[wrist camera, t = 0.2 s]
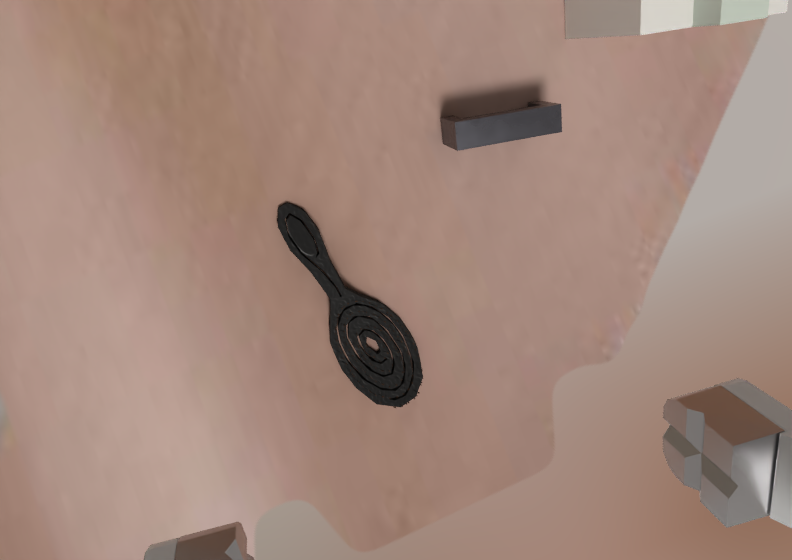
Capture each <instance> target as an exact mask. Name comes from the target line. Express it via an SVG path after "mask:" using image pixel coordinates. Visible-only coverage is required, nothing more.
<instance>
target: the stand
mask: <svg viewBox="0 0 792 560" xmlns="http://www.w3.org/2000/svg"><path fill="white" fill-rule="evenodd" d="M787 5H788V0H565V39H580V38H598V37H616V36H634V35H644V34H651V33H657V32H664V31H670V30H676V29H683V28H689V27H699V26H714V25H724V24H730V23H737V22H743V21H749V20H755V19H762V18H768V15H772V14H778V13H784V12H787Z"/></svg>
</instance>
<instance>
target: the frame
mask: <svg viewBox="0 0 792 560" xmlns="http://www.w3.org/2000/svg"><path fill="white" fill-rule="evenodd" d="M440 119H441V129H442V139H443V144H444V145H447V146H449V147H451V148H453V149H455V150H457V151H458V150H464V149H469V148H475V147H480V146H486V145H491V144H497V143H503V142H508V141H514V140H519V139H525V138H530V137H536V136H541V135H547V134H552V133H558V132H562V122H561V104H557V103H551V102H544V101H535V102H529V103H528V107H527V108H521V109H515V110H510V111H504V112H498V113H492V114H486V115H481V116H475V117H469V118H463V119H462V118H458V117H455V116H447V117H441V118H440Z"/></svg>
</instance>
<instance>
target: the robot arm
mask: <svg viewBox="0 0 792 560" xmlns="http://www.w3.org/2000/svg"><path fill="white" fill-rule="evenodd" d="M663 418H664V419H665V420H666V421H667V422H668V423H669V424H670V426H669V428H668V429H667V431H666V433H665V434H664V436H663V452H664V455H665V458H666V461H667V463H668V466H669V467H670V469H671V470H672V472H673V473H674V475H675V476H676V477H677V478H678V479H679V480H680V481H681V482H682V483H683V484H684V485H686V486H688V487H691V488H693V489H696V490H699V491H700V501H701V503H702V504H703V505H704V506H705V507H706V508H707V509H709V511H710V512H711V513H712V514H714V516H715V517H717V518H718V519H719V520H720V521H721V522H722V523H723V524H724V525H725V526H726V527H731V526H734V525H738V524H741V523H744V522H748V521H751V520H755V519H758V518H762V517H765V516H768V515H770V518H771V519H774V520H776V521H778V522H780V523H782V524H784V525H786V526H788V527H790V528H792V410H791V409H789V408H788V407H786V406H785V405H783V404H782V403H780V402H779V401H777V400H776V399H774V398H773V397H771V396H769V395H768V394H767V393H765V392H763V391H762V390H760V389H759V388H757V387H756V386H754V385H753V384H751V383H750V382H748V381H747V380H743V379H739V378H737V379H734V380H731V381H727V382H724V383H720V384H717V385H714V386H713V387H709V388H705V389H702V390H699V391H695V392H692V393H688V394H685V395H681V396H678V397H675V398H671V399H668V400H667V401H666V403H665V405H664V412H663ZM144 560H254V558H253V557H252V556H250V555H249V554H247V537H246V535H245V532H244V530H243V527H242V524H241V523H239V522H235V523H231V524H227V525H223V526H220V527H216V528H212V529H208V530H204V531H200V532H196V533H193V534H189V535H185V536H181V537H180V538H176V539H172V540H168V541H164V542H160V543H156V544H153V545H150V546H149V548H148V549H147V551H146V552H145V556H144Z"/></svg>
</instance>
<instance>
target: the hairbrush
mask: <svg viewBox="0 0 792 560" xmlns="http://www.w3.org/2000/svg"><path fill="white" fill-rule="evenodd" d="M289 213H291V214H293V215H292V216H291V214H290V215H289V217H288V219H287V220H286V222H287V227H288V231H289V234H290V236H291V237H290V236H289V234H288V233H287V228H286V223H285V218H286V217H287V215H288V214H289ZM299 218H300V219H302V221H303V222H304V223H305V225H306V226H307V228H308V229H309V230H310V232H311V233H312V235H313V236H314V238H315V240H316V243H317V247H318V250H319V251H318V253H317V249H316V244H315V241H314V238H313V236H312V235H311V234H310V232H309V231H308V229H307V228H306V227H305V225H304V224H303V222H302V221H301V220H300V219H299ZM277 221H278V228H279V230H280V232H281V234H282V236H283V238H284V240H285V241H286V243H287V245H288V247H289V249H290V251H291V252H292V253H293V254H294V255H295V256H296V257H297V258H298V259H299V260H300V261H301V262H302V263H303V264H304V265H305V266H306V268H307V269H308V270H309V271H310V272H311V273H312V274H313V276H314V277H315V279H316V280H317V281H318V283H319V284H320V285H321V287H322V288H323V290H324V291H325V292H326V294H327V295H328V296H329V298H330V306H331V312H330V320H329V323H330V330H329V331H330V342H331V346H332V348H333V351H334V353H335V355H336V358H337V360H338V362H339V364H340V366H341V369H342V370H343V372H344V373H345V374H346V375H347V377H348V378H349V379H350V380H351V382H352V383H353V384H354V386H355V387H356V388H357V389H358V390H360V391H361V392H362V393H363V394H365V395H366V396H367V397H368V398H370V399H371V400H372V401H373V402H375V403H376V404H380V405H387V406H396V407H403V405H404V404H406V405H407V402H408V403H409V401H410V400H412V399H413V398H414V397H416V396H417V392H418V389H419V386H420V385H421V383H422V382H421V381H422V379H423V375H422V369H421V362H420V357H419V353H418V348H417V346H416V343H415V341H414V339H413V337H412V336H411V333H410V332H409V330H408V329H407V328H406V326H405V325H404V323H403V322H402V321H401V319H400V318H399V317H398V316H397V315H396V314H395V313H394V312H392V311H391V310H390V309H389V308H388V307H387V306H386V305H384V304H382V303H381V302H378V300H377V301H375V300H376V299H375V300H373V299H371V297H368V296H365V295H363V294H360V293H358V292H356V291H354V290H352V289H349V288H347V287H345V286H344V284H343V282H342V281H341V279H340V277H339V275H338V273H337V272H336V270H335V268H334V266H333V264H332V262H331V261H330V259H329V256H328V253H327V251H326V248H325V245H324V243H323V240H322V237H321V235H320V232H319V230H318V228H317V226H316V225H315V224H314V223H313V221H312V220H311V219H310V217H309V216H308V215H307V213H306V212H305V211H303V210H302V208H301V209H300V207H298V206H296V205H293V204H290V203H285V204H283V205H282V206H280V207H279V208H278V220H277ZM292 239H293V240H292ZM304 254H305V255H306V256H307V257H308V258H309V259H310V260H312V261H313V262H314V263H315V264H316V265H317V266H318V267H320V268H321V269H322V270H323V271H324V272H325V273H326V274H327V275H328V276H329V278H330V279H331V280H332V281H333V282H332V281H331V280H330V279H329V278H328V277H327V276H326V275H325V274H324V273H323V272H322V271H321V270H320V269H319V268H318V267H317V266H316V265H315V264H314V263H313V262H311V261H310V260H309V259H308V258H307V257H306V256H305V255H304ZM335 285H336V286H337V288H338V290H339V292H340V293H341V294H339V292H338V290H337V288H336V286H335ZM366 305H367V306H366ZM369 306H373V307H374V308H376V309H377V310H379V311H380V312H382V313H383V314H385V315H386V316H388V317H389V318H390V319H391V320H392V322H393V323H394V324H395V326H396V327H397V328H398V329H399V331H400V332H401V333H402V334H403V336H404V338H405V340H406V343H407V345H408V348H409V351H410V353H411V356H412V364H413V372H412V364H411V357H410V355H409V352H408V350H407V348H406V345H405V343H404V340H403V338H402V337H401V335H400V333H399V332H398V330H397V329H396V327H395V326H394V325H393V324H392V322H391V321H390V320H388V319H387V318H386V317H385V316H384V315H383V314H382V313H380V312H379V311H377V310H376V309H374V308H373V307H369ZM339 315H340V318H339V320H338V316H339ZM353 316H355V317H353ZM367 316H370V317H372V318H373V319H374V320H373V319H371V318H370V317H367ZM352 317H353V318H352ZM375 320H376V321H375ZM337 321H338V330H339V335H340V340H341V344H342V346H343V348H344V350H345V352H346V354H347V356H348V358H349V360H350V362H351V364H352V365H353V366H354V367H355V368H356V369H357V370H358V371H359V372H360V373H361V374H360V373H359V372H358V371H357V370H355V369H354V368H353V366H352V365H351V364H350V362H348V360H347V358H346V357H345V355H344V353H343V351H342V349H341V346H340V344H339V340H338V335H337V329H336V328H337V327H336V326H337ZM349 321H350V322H349ZM348 322H349V325H348V337H349V339H350V341H351V343H352V345H353V346H354V348H355V350H356V352H357V353H358V355H359V357H360V359H361V360H362V361H363V362H364V363H365V364H366V365H365V364H364V363H362V362H361V361H360V359H359V358H358V356H357V355H356V354H355V352H354V351H353V349H352V347H351V346H350V344H349V342H348V339H347V333H346V325H347V324H348ZM379 323H380V324H381V325H382V326H384V327H385V328H386V329H387V330H388V331H389V333H390V334H391V336H392V337H393V339H394V340H395V342H396V343H397V345H398V346H399V348H400V350H401V352H402V355H403V361H404V367H405V372H404V369H403V362H402V355H401V353H400V351H399V349H398V347H397V346H396V344H395V343H394V341H393V340H392V338H391V337H390V336H389V334H388V333H387V332H386V331H385V329H384V328H383V327H382V326H381V325H380V324H379ZM363 329H368V330H363ZM371 330H374V331H375V332H376V333H377V334H378V335H380V336H381V337H382V338H383V339H384V340H385V342H386V343H387V345H388V347H389V348H390V350H391V352H392V355H393V358H394V366H393V368H392V365H393V360H392V357H391V354H390V351H389V349H388V347H387V346H386V345H385V343H384V342H383V341H382V339H381V338H380V337H379V336H378V335H377V334H375V333H374V332H372V331H371ZM358 335H359V338H360V341H361V344H362V346H363V348H364V350H365V351H366V352H367V353H368V354H369V355H370V356H371V357H370V356H369V357H370V358H369V357H368V355H367V354H366V353H365V352H364V350H363V349H362V348H361V347H360V345H359V342H358V339H357V336H358ZM367 337H369V338H371V339H373V340H376V342H377V344H378V346H379V350H380V351H377V353H376V352H375V351H374V350H372V349H371V348H370V347H368V345H367V343H366V339H367ZM367 365H368V366H367ZM411 377H412V378H411ZM401 381H402V382H401ZM418 393H419V392H418ZM414 399H415V398H414ZM396 407H394V408H396Z"/></svg>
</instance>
